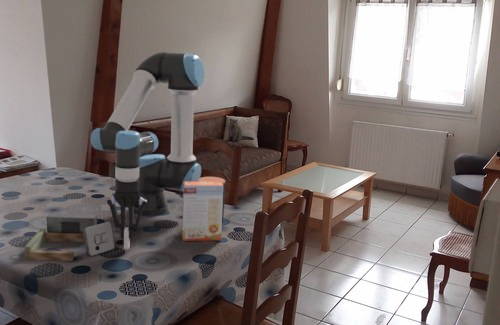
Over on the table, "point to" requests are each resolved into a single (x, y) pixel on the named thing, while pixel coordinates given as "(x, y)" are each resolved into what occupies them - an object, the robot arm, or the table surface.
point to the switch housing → (69, 222)
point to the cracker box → (202, 211)
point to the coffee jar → (215, 179)
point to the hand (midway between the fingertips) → (126, 247)
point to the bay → (36, 254)
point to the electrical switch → (98, 238)
